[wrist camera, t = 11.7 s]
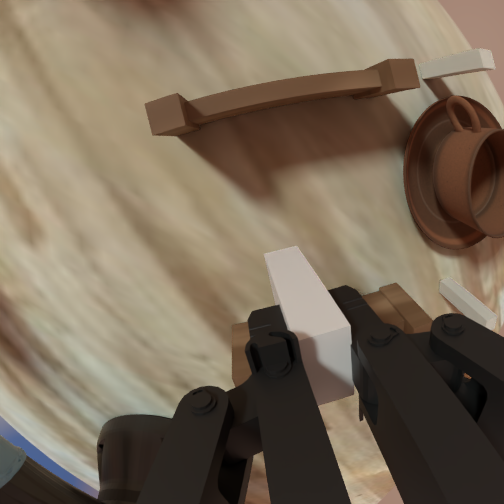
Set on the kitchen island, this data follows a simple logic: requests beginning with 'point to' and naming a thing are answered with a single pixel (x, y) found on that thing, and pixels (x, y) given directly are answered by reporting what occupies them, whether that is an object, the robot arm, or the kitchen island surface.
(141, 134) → the kitchen island surface
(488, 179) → the cup and saucer
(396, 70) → the brown wooden rail pair
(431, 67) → the posts
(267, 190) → the kitchen island surface
